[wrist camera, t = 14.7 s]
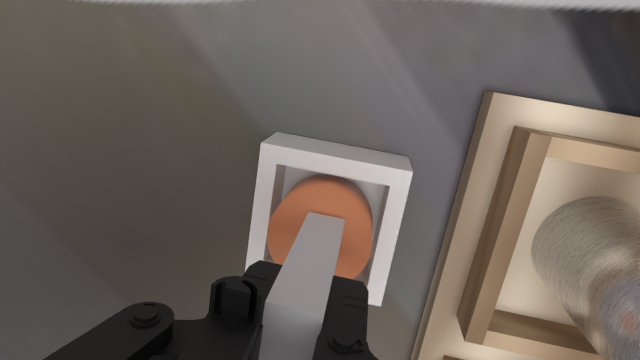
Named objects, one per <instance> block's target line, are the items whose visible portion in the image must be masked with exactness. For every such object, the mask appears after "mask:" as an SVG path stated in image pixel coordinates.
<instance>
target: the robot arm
mask: <svg viewBox="0 0 640 360" xmlns="http://www.w3.org/2000/svg"><path fill="white" fill-rule="evenodd" d="M344 224H345V219H341V218H337V217H332V216H327V215H322V214H317V213H313V212H308V214H307V216H306V218H305V221H304V223H303V225H302V227H301V229H300V231H299V233H298V235H297V237H296V239H295V241H294V243H293V245H292V247H291V249H290V251H289V253H288V256H287V258H286V260H285V262H284V264H283V265H280V264H275V263H271V262H266V261H262V260H259V261H257V262H255V263H254V264H252V265H250V266H249V267H248V269H247V270H246V272H245V273H244V276H242V277H240V276H230V277H224V278H221V279H218V280H216V281H215V282H214V283H213V284H212V285H211V295H210V305H209V313H208V314H207V316H206V317H205V318H203V319H198V320H174V313H173V311H172V309H171V308H169V307H168V306H166V305H165V304H161V303H158V302H142V303H137V304H133V305H131V306H129V307H127V308H125V309H123V310H121V311H120V312H118V313H117V314H115V315H113V316H112V317H110V318H109V319H107V320H105V321H104V322H102V323H101V324H99V325H97V326H96V327H94V328H93V329H91V330H89V331H88V332H86V333H85V334H83V335H81V336H80V337H78V338H77V339H75V340H73V341H72V342H70V343H68V344H67V345H65V346H64V347H62V348H60V349H59V350H57V351H56V352H54V353H52V354H51V355H49V356H48V357H46V358H44V359H43V360H378V359H377V358H376V357H375V356H374V355H373V354H372V353H371V352H370V350H369V347H368V343H367V341H366V335H367V315H368V311H367V310H368V295H369V291H368V289H367V288H366V286H365V284H364V283H363V282H362V281H358V280H353V279H349V278H344V277H340V276H335V270H336V265H337V259H338V254H339V249H340V244H341V239H342V234H343V229H344Z"/></svg>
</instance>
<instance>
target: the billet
mask: <svg viewBox="0 0 640 360" xmlns="http://www.w3.org/2000/svg"><path fill="white" fill-rule="evenodd" d="M531 257H532V262H533V265H534V268H535V270H536V272H537V274H538V276H539V277H540V278H541V280H542V281H543V282H544V283H545V285H546V286H547V287H548V289H549V290H550V291H551V293H552V294H553V295H554V297H555V298H556V299H557V300H558V302H559V303H560V304H561V306H562V307H563V308H564V310H565V311H566V312H567V314H568V315H569V316H570V317H571V319H572V320H573V321H574V323H575V324H576V325H577V327H578V328H579V329H580V330H581V332H582V333H583V334H584V336H585V337H586V338H587V340H588V341H589V342H590V344H591V345H592V346H593V347H594V349H595V350H596V351H597V353H598V354H599V355H600V357H601V358H602V359H603V360H640V210H638V209H636V208H635V207H633V206H631V205H629V204H627V203H626V202H623V201H621V200H618V199H614V198H610V197H603V196H593V197H585V198H580V199H577V200H574V201H571V202H568V203H566V204H564V205H562V206H561V207H559V208H557V209H556V210H555V211H553V212H552V213H551V214H550V215H549V216H548V217H547V218H545V220H544V221H543V222H542V223H541V225H540V226H539V228H538V230H537V231H536V234H535V236H534V239H533V242H532V249H531Z"/></svg>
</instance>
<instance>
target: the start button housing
mask: <svg viewBox="0 0 640 360" xmlns="http://www.w3.org/2000/svg"><path fill="white" fill-rule="evenodd" d="M315 175H334V176H338V177H341V178H343V179H346V180H348V181H349V182H351V183H353V184H354V185H355V186H357V187H358V188H359V189H360V190H361V191H362V193H363V194H364V195H365V197H366V198H367V200H368V202H369V204H370V207H371V210H372V216H373V229H372V250H371V254H370V258H369V260H368V262H367V264H366V266H365V267H364V269H363V270H362V271H361V273H360V274H359V275H358V276H357V277H355V278H354V279H353V280H358V281H362V282H363V283H364V284H365V286H366V288H367V289H368V291H369V295H368V304H371V305H376V306H381V303H382V299H383V295H384V291H385V287H386V283H387V279H388V274H389V270H390V266H391V262H392V258H393V254H394V249H395V245H396V241H397V237H398V233H399V229H400V225H401V220H402V216H403V212H404V208H405V204H406V200H407V196H408V191H409V187H410V183H411V179H412V175H413V170H412V167H411V164H410V161H409V158H408V157H407V156H402V155H397V154H391V153H386V152H381V151H376V150H370V149H365V148H360V147H355V146H349V145H344V144H339V143H333V142H328V141H323V140H318V139H312V138H307V137H302V136H297V135H291V134H286V133H281V132H276V133H275V134H273V135H272V136H270V137H269V138H267V139H266V140H264V141H263V142H261V147H260V155H259V163H258V171H257V179H256V187H255V195H254V203H253V211H252V219H251V227H250V235H249V243H248V251H247V259H246V267H245V272H246V270H247V269H248V267H249V266H250V265H252V264H254V263H255V262H257V261H259V260H262V261H266V262H271V263H274V261H273V259H272V257H271V255H270V252H269V249H268V244H267V229H268V224H269V222H270V219H271V217H272V215H273V213H274V212H275V210H276V209H277V207H278V206H279V205H280V203H281V202H282V200H283V199H284V197H285V196H286V194H287V193H288V192H289V190H290V189H291V188H292V187H293V186H294V185H296V184H297V183H298V182H300V181H302V180H303V179H306V178H308V177H311V176H315Z"/></svg>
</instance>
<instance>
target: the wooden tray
mask: <svg viewBox="0 0 640 360" xmlns="http://www.w3.org/2000/svg"><path fill="white" fill-rule="evenodd" d="M593 196H603V197H610V198H614V199H618V200H621V201H623V202H626V203H627V204H629V205H631V206H633V207H635V208H636V209H638V210H640V117H636V116H630V115H624V114H618V113H613V112H607V111H601V110H595V109H590V108H584V107H578V106H573V105H567V104H561V103H555V102H550V101H544V100H538V99H532V98H527V97H521V96H515V95H509V94H504V93H498V92H492V91H486V90H485V92H484V95H483V99H482V103H481V106H480V110H479V113H478V117H477V121H476V124H475V128H474V131H473V135H472V139H471V142H470V146H469V149H468V153H467V157H466V160H465V164H464V167H463V171H462V175H461V178H460V182H459V186H458V189H457V193H456V196H455V200H454V204H453V207H452V211H451V214H450V218H449V222H448V225H447V229H446V232H445V236H444V240H443V243H442V247H441V250H440V254H439V258H438V261H437V265H436V268H435V272H434V276H433V279H432V283H431V286H430V290H429V294H428V297H427V301H426V305H425V308H424V312H423V315H422V319H421V323H420V326H419V330H418V333H417V337H416V341H415V344H414V348H413V351H412V355H411V359H410V360H603V359H602V358H601V357H600V355H599V354H598V353H597V351H596V350H595V349H594V347H593V346H592V345H591V344H590V342H589V341H588V340H587V338H586V337H585V336H584V334H583V333H582V332H581V330H580V329H579V328H578V327H577V325H576V324H575V323H574V321H573V320H572V319H571V317H570V316H569V315H568V314H567V312H566V311H565V310H564V308H563V307H562V306H561V304H560V303H559V302H558V300H557V299H556V298H555V297H554V295H553V294H552V293H551V291H550V290H549V289H548V287H547V286H546V285H545V283H544V282H543V281H542V280H541V278H540V277H539V276H538V274H537V272H536V270H535V268H534V265H533V262H532V257H531V249H532V242H533V239H534V236H535V234H536V231H537V230H538V228H539V226H540V225H541V223H542V222H543V221H544V220H545V218H547V217H548V216H549V215H550V214H551V213H552V212H553V211H555V210H556V209H557V208H559V207H561V206H562V205H564V204H566V203H568V202H571V201H574V200H577V199H580V198H585V197H593Z"/></svg>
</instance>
